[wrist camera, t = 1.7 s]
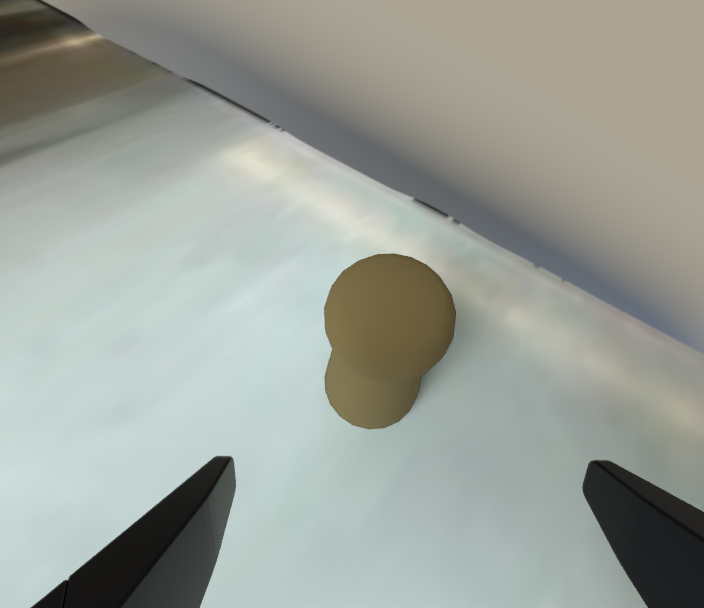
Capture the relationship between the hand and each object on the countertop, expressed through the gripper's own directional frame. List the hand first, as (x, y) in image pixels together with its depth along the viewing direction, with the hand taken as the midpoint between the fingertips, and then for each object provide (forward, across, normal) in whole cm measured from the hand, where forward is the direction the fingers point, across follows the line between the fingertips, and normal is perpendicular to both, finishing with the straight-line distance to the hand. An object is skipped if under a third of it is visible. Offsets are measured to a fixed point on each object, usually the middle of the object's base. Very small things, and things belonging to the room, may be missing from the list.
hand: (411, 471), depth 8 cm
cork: (+13, 0, +5) cm, 13 cm away
